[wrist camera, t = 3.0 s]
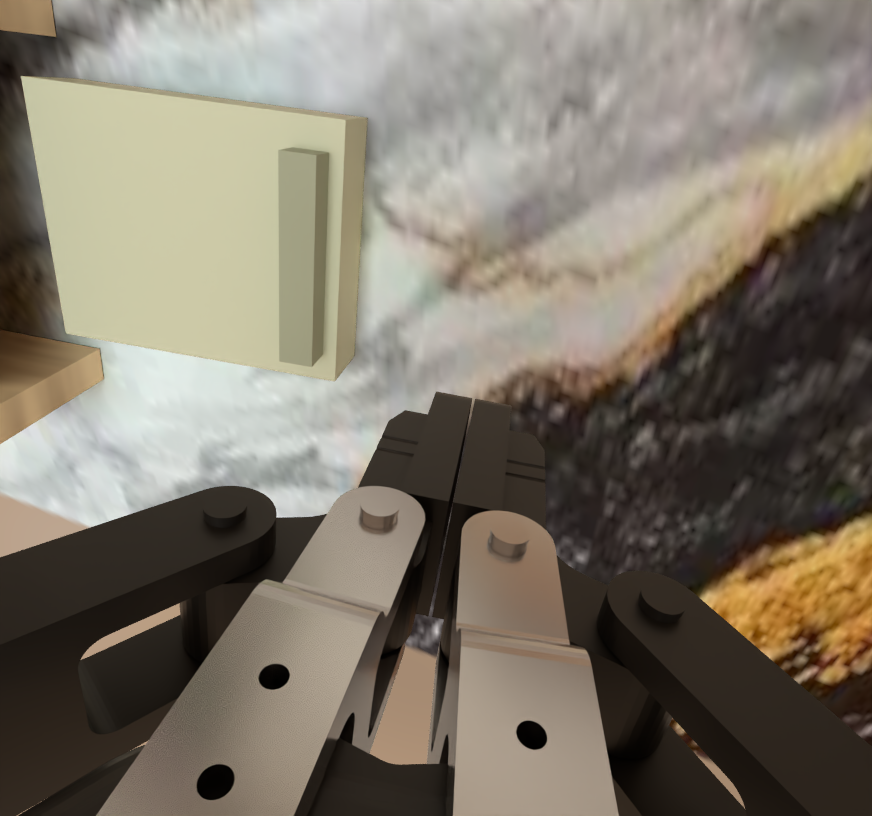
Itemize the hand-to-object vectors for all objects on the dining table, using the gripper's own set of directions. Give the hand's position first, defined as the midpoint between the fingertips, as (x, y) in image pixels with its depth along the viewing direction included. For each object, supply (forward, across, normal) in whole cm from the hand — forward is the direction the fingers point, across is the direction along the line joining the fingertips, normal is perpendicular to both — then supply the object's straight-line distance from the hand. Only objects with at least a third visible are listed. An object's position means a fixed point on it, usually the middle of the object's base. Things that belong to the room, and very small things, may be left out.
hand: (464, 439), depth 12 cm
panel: (+13, +11, 0) cm, 17 cm away
